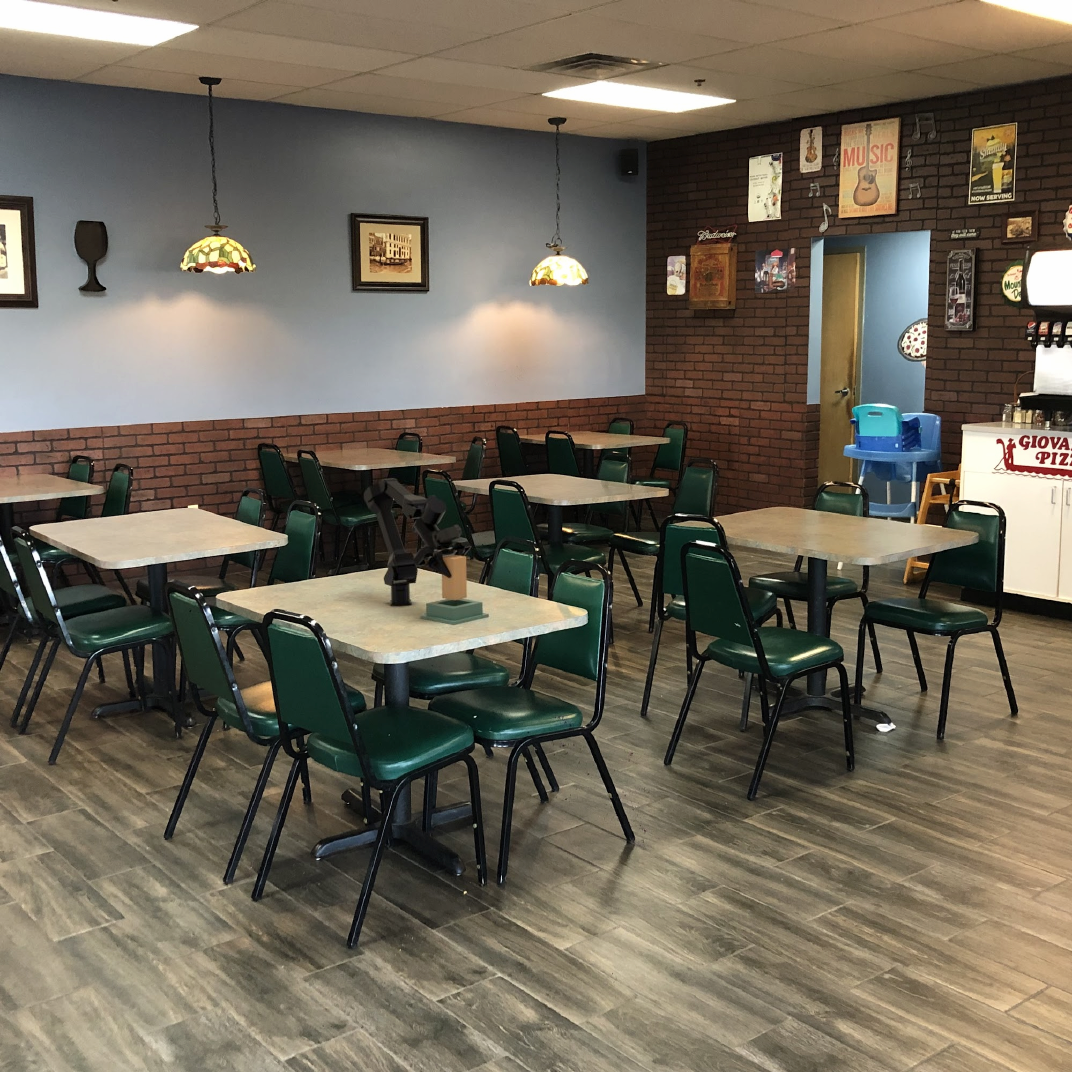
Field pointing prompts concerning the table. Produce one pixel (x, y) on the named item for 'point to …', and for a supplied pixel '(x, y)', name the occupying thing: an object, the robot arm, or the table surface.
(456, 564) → the plug
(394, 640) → the table surface
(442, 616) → the socket housing
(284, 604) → the table surface
